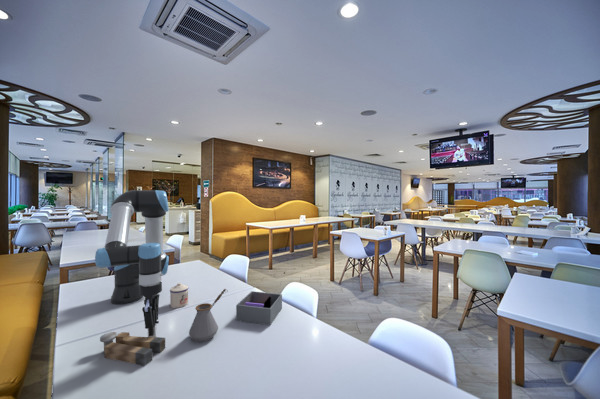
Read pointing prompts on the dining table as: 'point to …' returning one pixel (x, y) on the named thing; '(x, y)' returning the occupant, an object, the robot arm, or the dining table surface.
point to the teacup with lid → (179, 296)
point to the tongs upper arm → (136, 341)
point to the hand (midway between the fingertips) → (152, 341)
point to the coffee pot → (204, 322)
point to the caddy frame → (259, 308)
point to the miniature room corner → (265, 305)
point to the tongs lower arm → (127, 353)
